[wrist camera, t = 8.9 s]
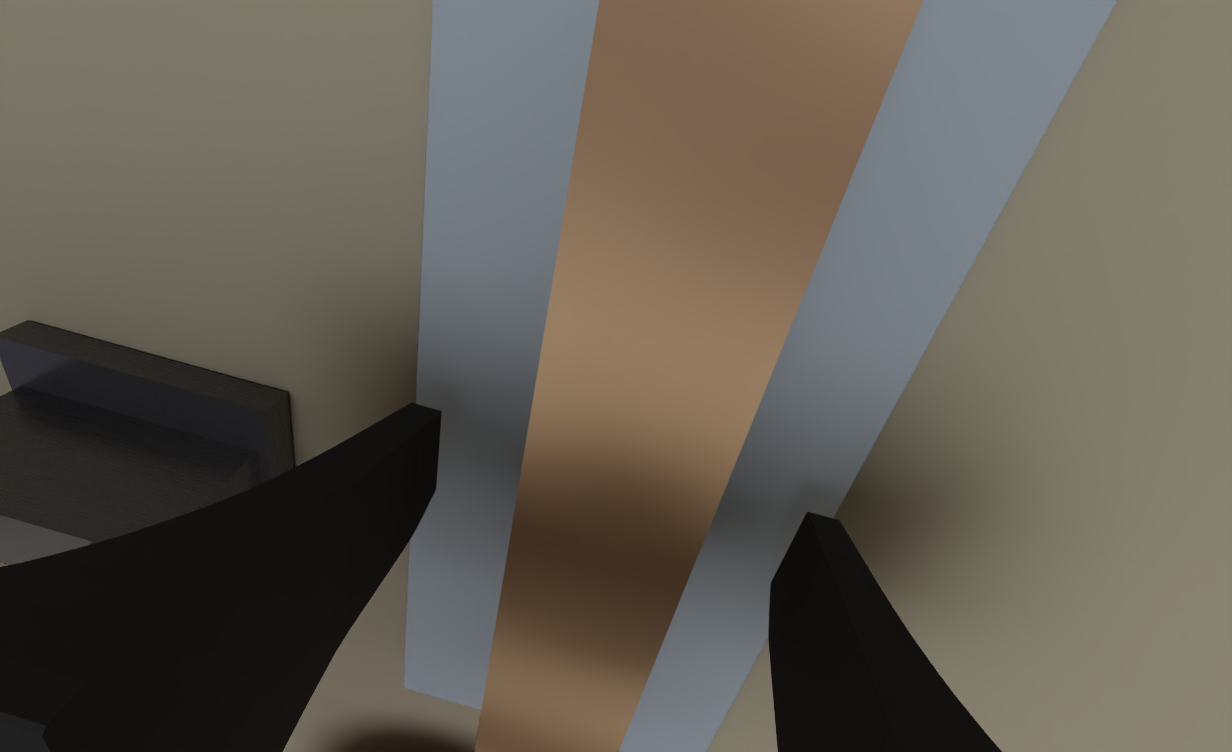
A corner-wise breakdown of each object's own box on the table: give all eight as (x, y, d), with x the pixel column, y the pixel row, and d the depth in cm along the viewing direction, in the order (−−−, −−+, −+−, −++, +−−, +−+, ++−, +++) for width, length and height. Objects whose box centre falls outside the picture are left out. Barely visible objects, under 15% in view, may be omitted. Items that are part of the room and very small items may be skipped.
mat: (695, 755, 19) (694, 772, 18) (410, 672, 19) (403, 687, 19) (1152, -103, 8) (1177, -109, 7) (460, -263, 8) (444, -279, 8)
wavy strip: (607, 714, 18) (584, 834, 15) (505, 685, 18) (466, 799, 15) (877, -28, 8) (944, -50, 6) (656, -82, 8) (620, -128, 6)
